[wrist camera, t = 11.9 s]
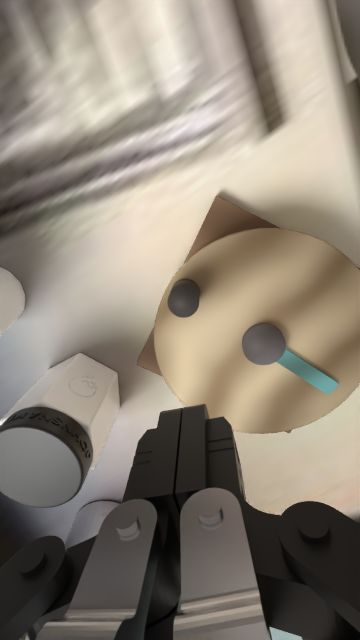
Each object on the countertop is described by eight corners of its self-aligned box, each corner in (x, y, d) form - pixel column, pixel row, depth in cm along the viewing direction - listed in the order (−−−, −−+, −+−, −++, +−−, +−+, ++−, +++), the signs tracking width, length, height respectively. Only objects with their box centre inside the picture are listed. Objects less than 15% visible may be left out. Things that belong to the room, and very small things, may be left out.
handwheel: (418, 309, 29) (455, 327, 25) (277, 454, 35) (287, 489, 31) (236, 179, 26) (242, 175, 22) (119, 359, 32) (106, 383, 28)
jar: (137, 380, 37) (106, 459, 25) (104, 432, 39) (63, 525, 28) (62, 339, 36) (-4, 404, 24) (34, 396, 38) (-37, 478, 27)
